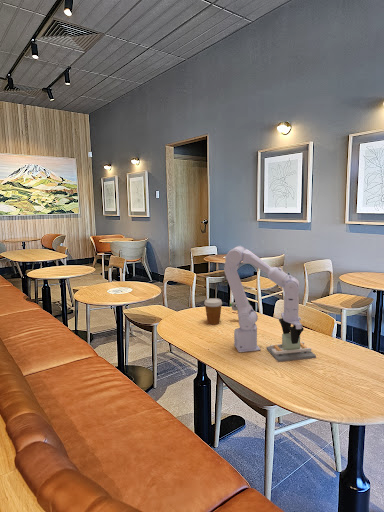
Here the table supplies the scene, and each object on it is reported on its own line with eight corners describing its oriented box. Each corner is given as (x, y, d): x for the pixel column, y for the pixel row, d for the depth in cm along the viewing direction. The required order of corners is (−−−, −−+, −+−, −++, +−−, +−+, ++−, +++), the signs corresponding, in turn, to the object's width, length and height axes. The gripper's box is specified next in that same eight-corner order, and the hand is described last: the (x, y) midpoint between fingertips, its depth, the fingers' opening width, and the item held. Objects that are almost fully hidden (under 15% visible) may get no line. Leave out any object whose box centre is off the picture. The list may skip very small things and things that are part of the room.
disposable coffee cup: (202, 320, 179) (201, 299, 177) (218, 318, 182) (218, 297, 180) (208, 326, 170) (207, 304, 168) (225, 324, 173) (225, 302, 171)
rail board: (277, 361, 131) (278, 354, 131) (266, 348, 143) (266, 342, 142) (315, 357, 134) (316, 350, 133) (301, 345, 145) (301, 338, 145)
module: (286, 351, 136) (286, 337, 135) (282, 347, 140) (282, 334, 139) (300, 350, 137) (300, 336, 136) (295, 346, 140) (295, 332, 139)
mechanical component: (250, 321, 175) (249, 303, 174) (230, 322, 176) (230, 303, 174) (249, 319, 178) (249, 301, 177) (229, 320, 178) (229, 302, 177)
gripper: (309, 312, 129) (308, 346, 131) (292, 301, 143) (291, 332, 145) (292, 314, 128) (291, 347, 130) (276, 303, 142) (276, 333, 144)
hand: (290, 339), depth 137 cm, fingers open, 7 cm apart
